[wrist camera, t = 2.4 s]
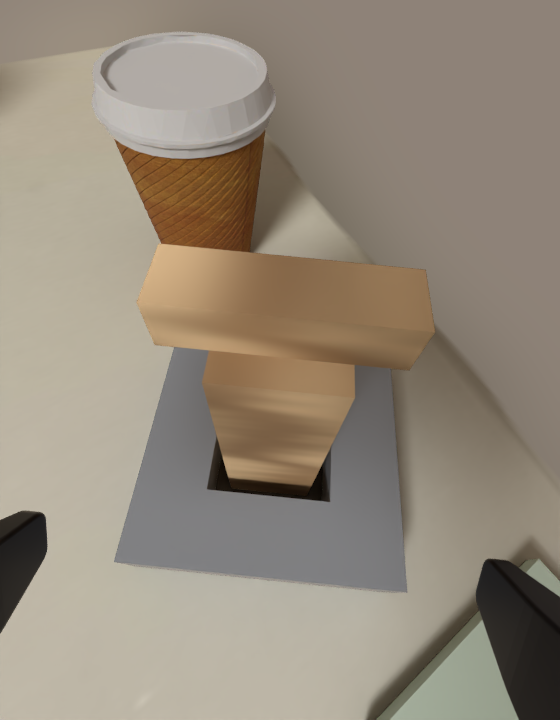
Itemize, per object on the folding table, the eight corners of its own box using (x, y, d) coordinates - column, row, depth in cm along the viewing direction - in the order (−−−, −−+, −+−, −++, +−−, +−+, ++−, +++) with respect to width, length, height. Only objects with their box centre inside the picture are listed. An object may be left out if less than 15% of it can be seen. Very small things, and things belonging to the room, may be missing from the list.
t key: (335, 427, 22) (421, 243, 10) (334, 499, 20) (440, 369, 8) (216, 415, 22) (167, 218, 10) (203, 485, 20) (123, 337, 8)
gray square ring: (375, 372, 24) (389, 346, 22) (386, 592, 18) (407, 592, 15) (188, 353, 24) (180, 325, 22) (134, 565, 18) (113, 561, 16)
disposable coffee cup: (128, 230, 30) (61, 43, 20) (238, 197, 33) (228, 18, 22) (172, 316, 26) (114, 135, 16) (293, 270, 29) (312, 91, 18)
